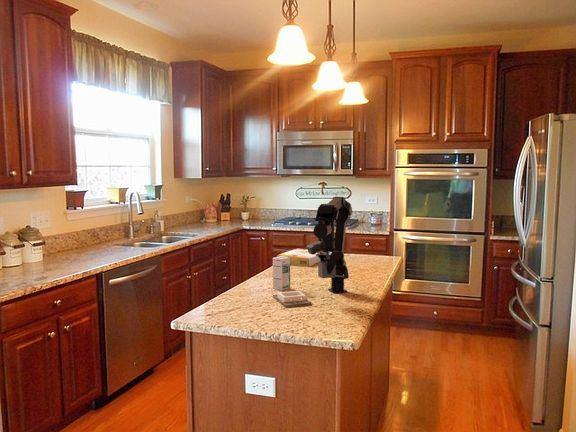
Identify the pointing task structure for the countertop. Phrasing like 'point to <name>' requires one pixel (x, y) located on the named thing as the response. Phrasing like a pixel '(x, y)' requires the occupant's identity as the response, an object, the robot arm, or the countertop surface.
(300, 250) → the cereal box
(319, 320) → the countertop surface
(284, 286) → the syrup box
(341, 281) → the robot arm
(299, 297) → the socket board
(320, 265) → the plug block
